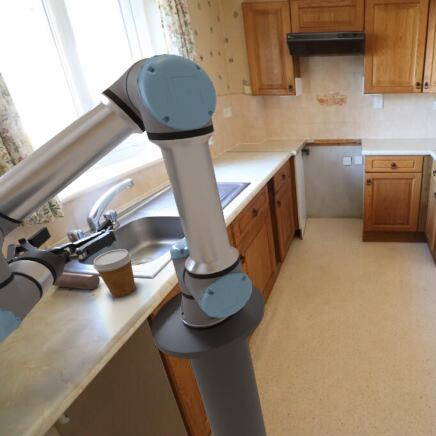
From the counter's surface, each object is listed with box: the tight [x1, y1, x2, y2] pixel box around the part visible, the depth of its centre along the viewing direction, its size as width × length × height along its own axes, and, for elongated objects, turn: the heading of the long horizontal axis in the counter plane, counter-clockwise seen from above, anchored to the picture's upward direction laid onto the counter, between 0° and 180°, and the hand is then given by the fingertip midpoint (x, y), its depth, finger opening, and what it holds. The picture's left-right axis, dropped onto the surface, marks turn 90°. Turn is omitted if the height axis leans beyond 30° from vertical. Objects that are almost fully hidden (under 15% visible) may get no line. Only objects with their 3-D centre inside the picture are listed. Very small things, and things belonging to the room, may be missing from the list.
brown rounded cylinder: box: [53, 271, 101, 290], centre depth 100 cm, size 13×4×4 cm, turn 80°
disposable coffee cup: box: [92, 248, 136, 298], centre depth 95 cm, size 10×10×12 cm
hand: (79, 227), depth 78 cm, fingers open, 13 cm apart
